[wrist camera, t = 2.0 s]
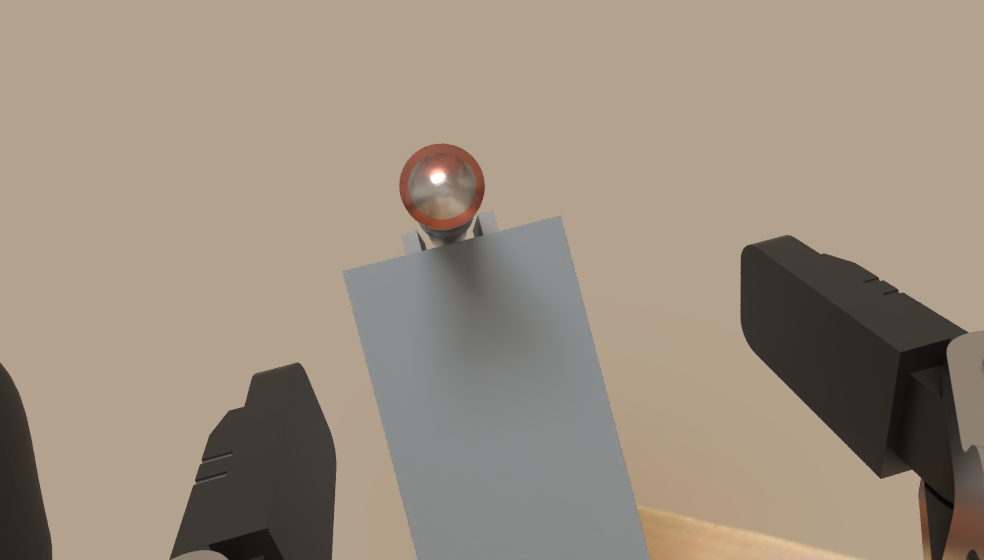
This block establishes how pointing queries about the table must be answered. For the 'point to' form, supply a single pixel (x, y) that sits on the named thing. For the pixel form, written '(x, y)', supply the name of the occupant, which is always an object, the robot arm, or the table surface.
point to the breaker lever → (442, 191)
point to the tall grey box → (495, 399)
